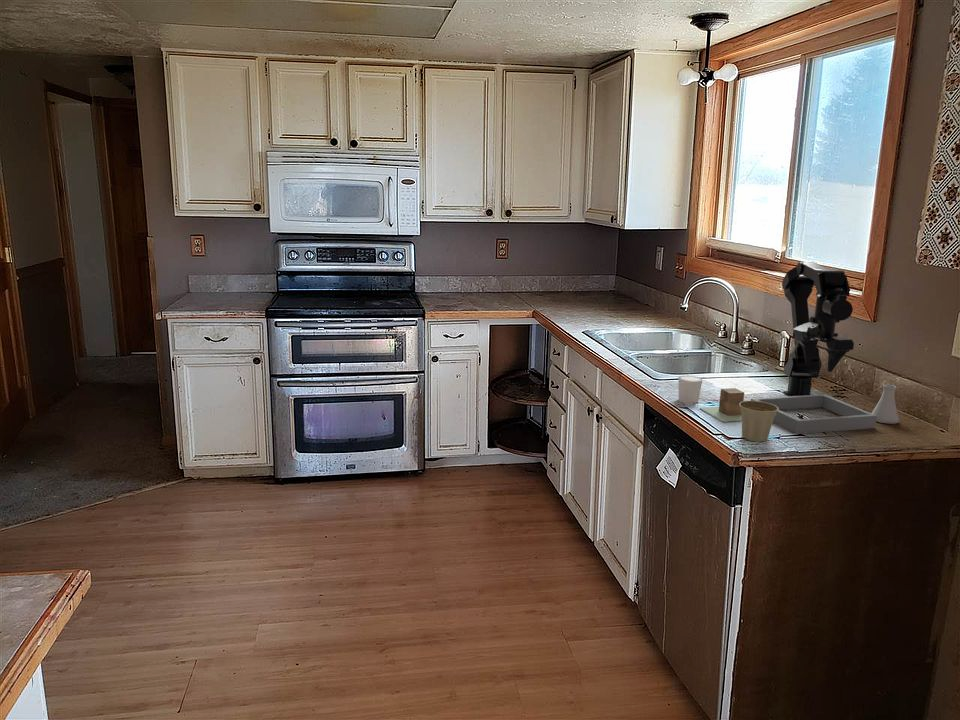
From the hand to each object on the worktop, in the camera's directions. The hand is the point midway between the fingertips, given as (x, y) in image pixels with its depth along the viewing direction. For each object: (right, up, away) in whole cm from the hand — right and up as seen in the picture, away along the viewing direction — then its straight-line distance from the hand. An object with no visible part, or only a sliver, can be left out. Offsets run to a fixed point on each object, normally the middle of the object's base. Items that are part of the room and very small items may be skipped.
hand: (818, 367), depth 212 cm
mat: (-27, -13, -5) cm, 30 cm away
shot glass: (-35, -10, +7) cm, 38 cm away
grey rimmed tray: (-6, -14, -8) cm, 17 cm away
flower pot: (-27, -18, -24) cm, 40 cm away
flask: (+15, -15, -7) cm, 22 cm away
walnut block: (-27, -13, -5) cm, 30 cm away
